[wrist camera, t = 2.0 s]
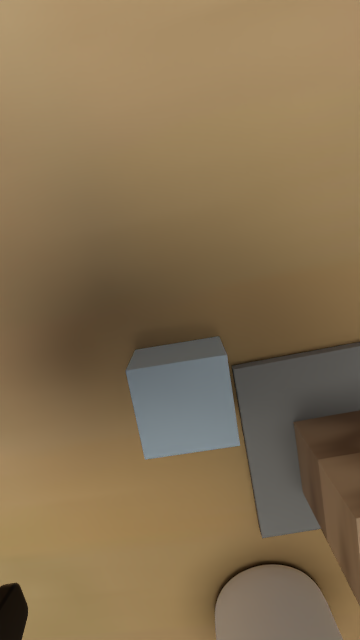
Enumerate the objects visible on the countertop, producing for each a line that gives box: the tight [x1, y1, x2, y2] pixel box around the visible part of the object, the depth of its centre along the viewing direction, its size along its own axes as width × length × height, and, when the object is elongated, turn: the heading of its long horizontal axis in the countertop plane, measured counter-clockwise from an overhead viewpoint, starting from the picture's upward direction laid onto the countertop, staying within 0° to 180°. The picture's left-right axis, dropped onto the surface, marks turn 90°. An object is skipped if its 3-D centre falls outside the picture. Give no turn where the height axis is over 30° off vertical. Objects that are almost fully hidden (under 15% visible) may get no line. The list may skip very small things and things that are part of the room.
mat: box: [232, 342, 360, 538], centre depth 20 cm, size 11×12×1 cm
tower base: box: [293, 410, 360, 542], centre depth 18 cm, size 5×5×4 cm
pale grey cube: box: [126, 336, 240, 459], centre depth 18 cm, size 5×5×4 cm
